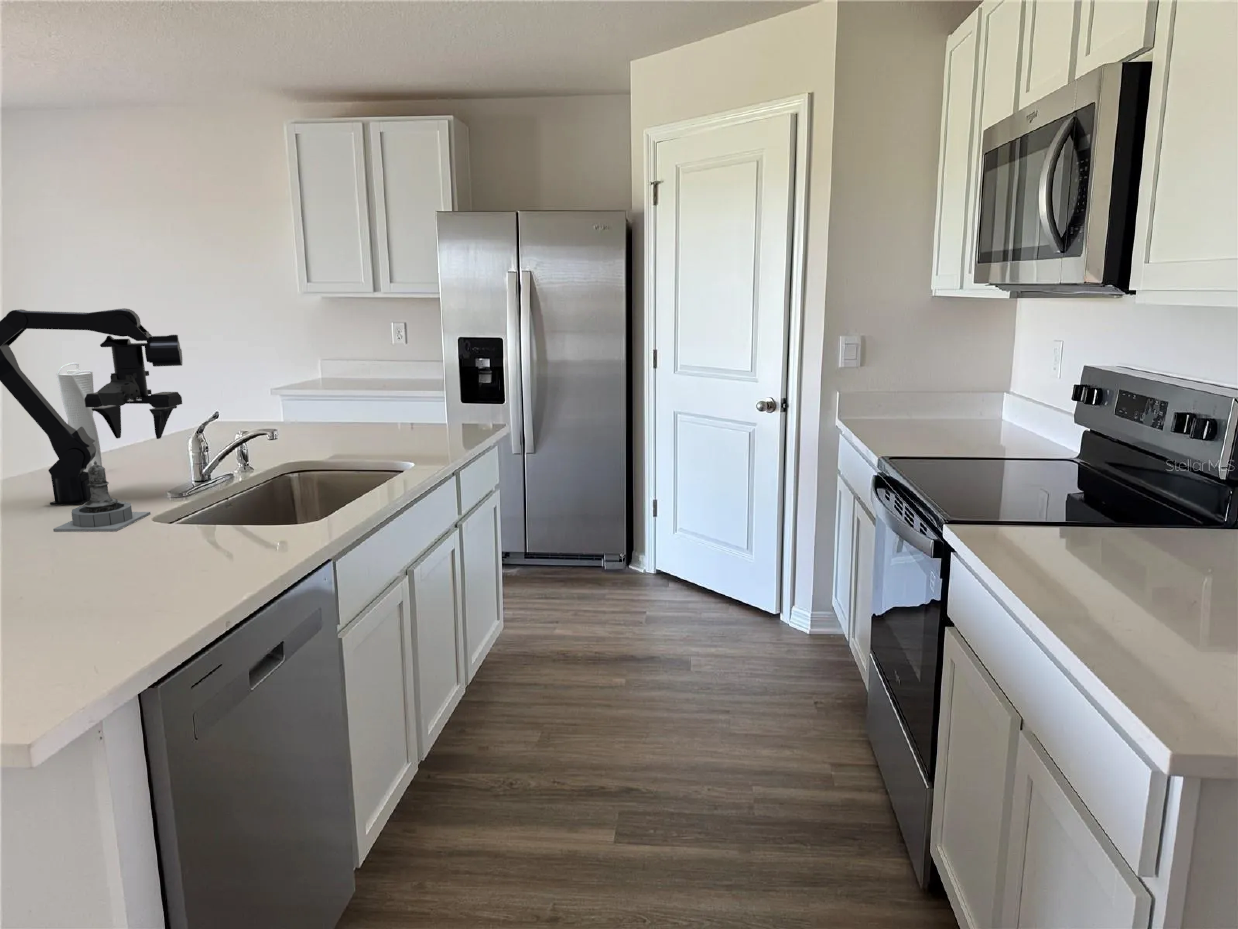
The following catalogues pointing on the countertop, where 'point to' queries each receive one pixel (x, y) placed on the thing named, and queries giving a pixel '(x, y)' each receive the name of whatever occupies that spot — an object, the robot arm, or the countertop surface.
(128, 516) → the collar
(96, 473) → the salt shaker
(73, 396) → the skyscraper
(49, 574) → the countertop surface
